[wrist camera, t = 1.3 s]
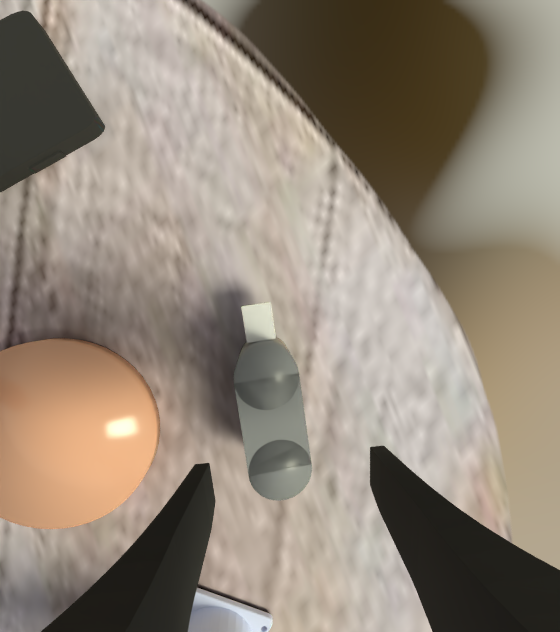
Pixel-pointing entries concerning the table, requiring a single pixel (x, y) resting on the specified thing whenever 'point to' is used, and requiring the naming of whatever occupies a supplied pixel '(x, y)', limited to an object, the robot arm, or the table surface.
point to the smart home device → (38, 102)
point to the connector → (271, 409)
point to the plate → (71, 432)
